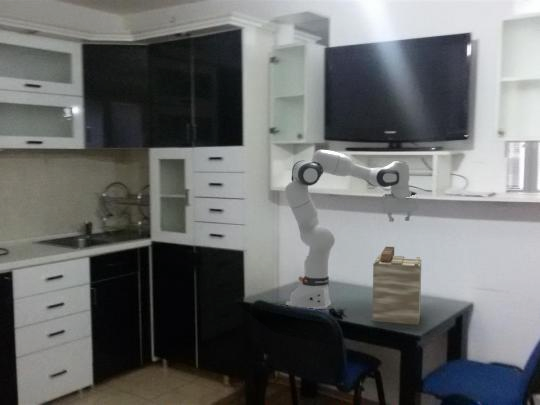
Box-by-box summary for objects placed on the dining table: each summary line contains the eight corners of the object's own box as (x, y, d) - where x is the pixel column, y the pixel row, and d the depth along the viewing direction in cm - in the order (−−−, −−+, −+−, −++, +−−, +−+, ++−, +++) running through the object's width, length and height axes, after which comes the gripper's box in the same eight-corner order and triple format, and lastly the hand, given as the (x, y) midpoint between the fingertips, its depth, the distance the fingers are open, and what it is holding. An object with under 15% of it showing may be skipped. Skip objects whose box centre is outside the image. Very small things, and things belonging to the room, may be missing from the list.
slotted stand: (418, 324, 245) (419, 263, 243) (372, 320, 251) (373, 261, 249) (420, 314, 260) (421, 257, 258) (376, 311, 266) (377, 255, 264)
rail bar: (390, 262, 251) (390, 253, 250) (381, 262, 252) (381, 253, 251) (394, 255, 270) (394, 246, 269) (385, 254, 271) (385, 246, 270)
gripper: (385, 194, 272) (385, 222, 273) (420, 193, 280) (419, 220, 281) (378, 193, 278) (378, 221, 279) (412, 192, 285) (412, 219, 287)
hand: (399, 221), depth 280 cm, fingers open, 8 cm apart
